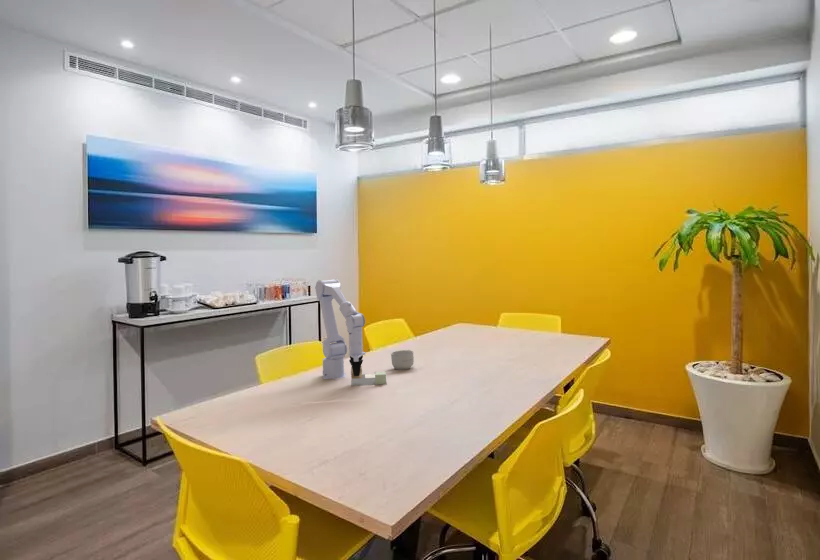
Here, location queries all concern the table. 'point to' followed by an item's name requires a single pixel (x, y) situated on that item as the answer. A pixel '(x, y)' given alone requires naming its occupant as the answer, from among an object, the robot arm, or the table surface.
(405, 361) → the teacup
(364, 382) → the baseplate
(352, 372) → the maple block
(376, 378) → the sage block
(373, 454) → the table surface
